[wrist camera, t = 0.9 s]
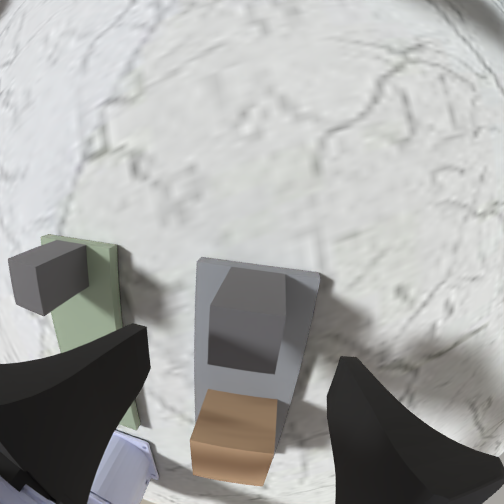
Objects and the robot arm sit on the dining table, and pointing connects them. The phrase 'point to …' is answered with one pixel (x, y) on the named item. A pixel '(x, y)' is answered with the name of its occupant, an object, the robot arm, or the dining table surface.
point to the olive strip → (93, 307)
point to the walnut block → (234, 438)
